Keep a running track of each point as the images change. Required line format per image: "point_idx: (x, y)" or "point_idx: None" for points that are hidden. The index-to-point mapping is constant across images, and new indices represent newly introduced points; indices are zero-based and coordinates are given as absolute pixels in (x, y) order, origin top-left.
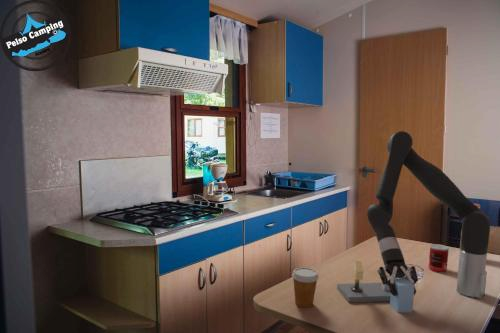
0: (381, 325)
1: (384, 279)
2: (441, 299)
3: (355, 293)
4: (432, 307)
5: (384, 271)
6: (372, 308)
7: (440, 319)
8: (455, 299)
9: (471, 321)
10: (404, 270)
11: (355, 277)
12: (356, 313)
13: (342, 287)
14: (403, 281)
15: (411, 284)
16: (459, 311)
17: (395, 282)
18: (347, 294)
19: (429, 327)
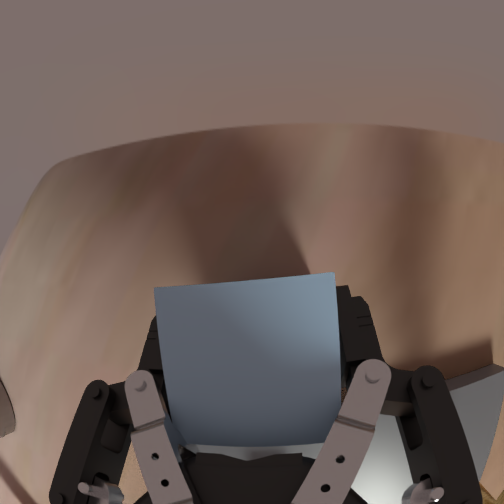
0: (424, 150)
1: (445, 390)
2: (58, 388)
3: (466, 418)
4: (108, 328)
5: (442, 478)
6: (424, 315)
7: (128, 212)
8: (25, 375)
9: (44, 208)
10: (166, 501)
11: (481, 485)
12: (495, 257)
13: (481, 460)
14: (235, 385)
15: (178, 304)
16: (40, 285)
17: (339, 366)
18: (500, 396)
19: (214, 136)
